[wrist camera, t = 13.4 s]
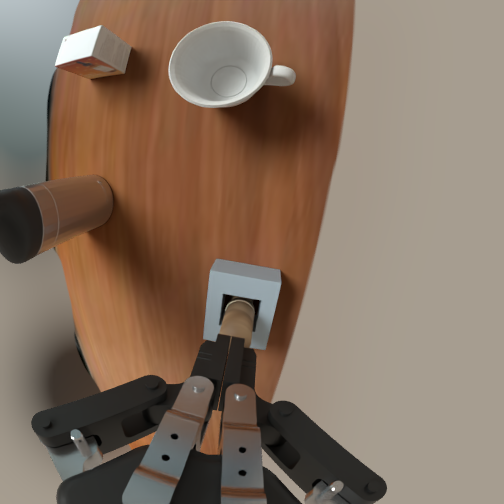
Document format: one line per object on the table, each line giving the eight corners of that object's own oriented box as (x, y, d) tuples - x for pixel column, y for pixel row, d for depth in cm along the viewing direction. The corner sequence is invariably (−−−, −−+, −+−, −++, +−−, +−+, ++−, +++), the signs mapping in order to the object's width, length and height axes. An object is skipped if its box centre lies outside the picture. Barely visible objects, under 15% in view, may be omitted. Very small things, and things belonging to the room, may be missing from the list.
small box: (89, 79, 34) (53, 67, 24) (96, 53, 32) (62, 36, 22) (125, 74, 34) (91, 56, 24) (132, 46, 32) (101, 24, 22)
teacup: (281, 132, 36) (286, 121, 26) (182, 116, 36) (157, 102, 26) (297, 61, 32) (306, 32, 23) (201, 47, 32) (183, 18, 22)
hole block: (265, 332, 46) (265, 350, 41) (209, 322, 46) (203, 338, 41) (280, 269, 42) (281, 282, 37) (216, 258, 42) (210, 270, 37)
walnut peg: (235, 311, 45) (226, 357, 34) (225, 290, 44) (211, 331, 32) (259, 304, 44) (256, 349, 33) (250, 282, 43) (243, 322, 32)
